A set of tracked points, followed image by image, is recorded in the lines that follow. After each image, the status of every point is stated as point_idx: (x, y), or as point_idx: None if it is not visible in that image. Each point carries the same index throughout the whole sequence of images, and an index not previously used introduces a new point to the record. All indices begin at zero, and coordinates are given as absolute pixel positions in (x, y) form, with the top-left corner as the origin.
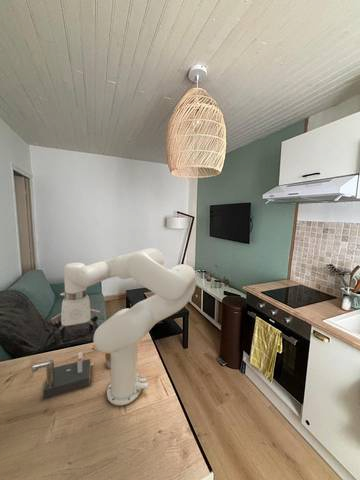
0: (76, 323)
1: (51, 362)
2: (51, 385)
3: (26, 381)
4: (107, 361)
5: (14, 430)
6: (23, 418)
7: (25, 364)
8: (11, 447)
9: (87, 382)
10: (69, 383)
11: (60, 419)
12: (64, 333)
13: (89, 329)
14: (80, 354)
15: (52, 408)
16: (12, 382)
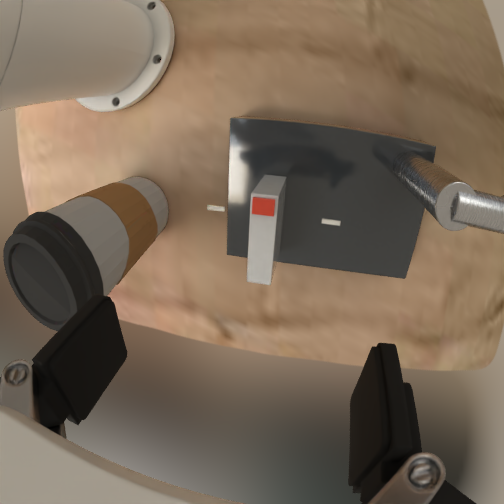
0: (130, 491)
1: (448, 190)
2: (406, 151)
3: (466, 273)
4: (150, 199)
5: (484, 60)
6: (471, 90)
7: (453, 355)
8: (473, 7)
9: (245, 117)
10: (326, 126)
11: (349, 7)
12: (365, 407)
13: (77, 332)
14: (260, 256)
15: (386, 71)
16: (495, 289)
